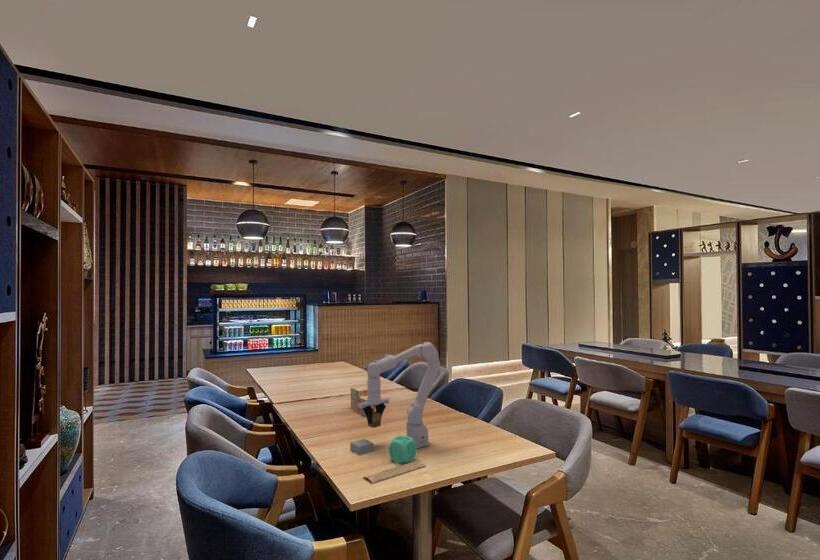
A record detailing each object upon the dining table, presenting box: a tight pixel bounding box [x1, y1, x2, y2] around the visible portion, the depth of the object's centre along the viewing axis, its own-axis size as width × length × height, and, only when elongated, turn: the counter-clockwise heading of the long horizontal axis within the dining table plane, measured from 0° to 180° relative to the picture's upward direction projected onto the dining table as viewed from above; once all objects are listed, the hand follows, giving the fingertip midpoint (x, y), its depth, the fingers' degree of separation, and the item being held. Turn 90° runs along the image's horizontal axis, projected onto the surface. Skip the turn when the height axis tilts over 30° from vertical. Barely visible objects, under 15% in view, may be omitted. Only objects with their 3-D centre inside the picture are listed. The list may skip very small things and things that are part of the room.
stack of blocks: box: [350, 385, 376, 418], centre depth 237 cm, size 21×6×12 cm, turn 29°
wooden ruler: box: [362, 460, 426, 485], centre depth 155 cm, size 24×7×2 cm, turn 127°
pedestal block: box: [349, 438, 375, 456], centre depth 177 cm, size 7×7×4 cm
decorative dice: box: [388, 435, 418, 465], centre depth 167 cm, size 8×8×8 cm
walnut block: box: [367, 410, 382, 429], centre depth 184 cm, size 4×4×6 cm
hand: (374, 422), depth 184 cm, fingers closed on walnut block, 4 cm apart
